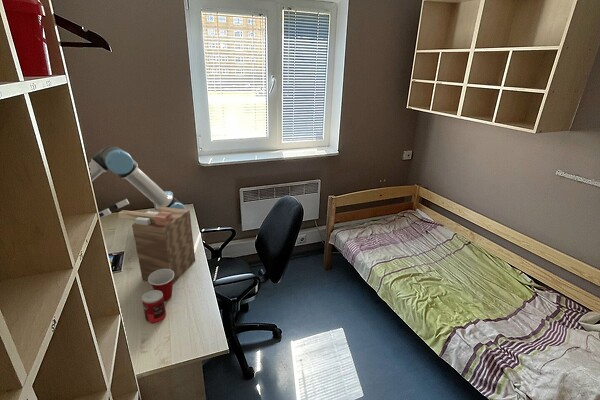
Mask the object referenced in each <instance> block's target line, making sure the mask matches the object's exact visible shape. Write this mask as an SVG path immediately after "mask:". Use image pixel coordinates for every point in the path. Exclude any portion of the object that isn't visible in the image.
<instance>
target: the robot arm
mask: <svg viewBox="0 0 600 400" xmlns="http://www.w3.org/2000/svg"><path fill="white" fill-rule="evenodd" d="M88 164H89V168H90V173H91V178H92V182H93V181H95V180H96V179H97V178H98V177H99V176H100V175H101V174H103V173H106V172H108V171H111V172H112V173H113V174H115V176H118V178H120V179H125V180H127V181H128V183H130V184H131V185H132V186H134V188H135V189H137V190H138V191H139V192H141V193H142V194H143V195H144V196H145V197H146V198H147V199H149V201H151V202H152V203H153V205H154V211H155V210H156V209H158V208H160V207H169V208H178V209H186V207H185V205H184V204H183V203H181V201H179V200H178V199H176V197H174V194H173V192H172V191H170V190H169V191H168V190H166V191H164V190H163V189H162V188H161V187H160V186H159V185H158V184H157V183H156V182H155V181H154V180H152V179H151V178H150V177H149V175H147V174H145V173H144V171H142V170H141V169H140V168H139V166H138V165H139V163H138V162H137V161H136V160H135V159H133V158H132V156H131V155H130V153H128V152H127V151H125V150H123V149H121V148H120V147H119V146H116V145H115V146H114V145H109V146H106V147H103V148H102V149H101V150H99V151H98V152H97V153H96V154H94V155H93V156H92V157H91V158H90V162H89V163H88ZM127 205H130V202H129V200H128V199H127V198H125V199H122V200H121V201H116V202H115V204H112V205H111V206H108V207H106V208H104V209H103V208H102V209H100V210H98V211H99V215H100V218H101V219H103V218H105V217H107V216H109V215H111V214H112V212H113V211H116V210H117V209H121V208H123V207H126V206H127Z"/></svg>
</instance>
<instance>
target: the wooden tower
mask: <svg viewBox="0 0 600 400" xmlns="http://www.w3.org/2000/svg"><path fill="white" fill-rule="evenodd" d="M162 211H163V212H171V213H172V217H173V221H172V222H170V223H169V224H168V225H166V226H162V225H156V224H155V223H151V224H149V225H148V226H147V225H139V224H136V223H135V222H134V223H133V224H131V228H132V231H133V238H134V243H135V249H136V254H137V259H138V263H139V269H140V274H141V280H142V282H143V281H145V282H149V281H148V277H149V275H150V274H151V273H152V272H154V271H156V270H160V269H170V270H172V271H173V272H174V278H173V285H174V284H175V283H176V282H177V281H178V280H179V279H180V278H181V277H182V275H184V273H185V272H187V271H188V269H189V268H190V267H191V266H192V265H193V264H194V263H195V262H196V255H195V245H194V238H193V237H194V236H193V229H192V220H191V211H190V209H186V208H185V209H178V208H169V207H160V208H158V209H156V210H155V209H154V210H153V212H159V213H161V212H162Z"/></svg>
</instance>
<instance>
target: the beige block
mask: <svg viewBox="0 0 600 400" xmlns="http://www.w3.org/2000/svg"><path fill="white" fill-rule="evenodd" d="M137 217H143V218H150V221H151V223H155V224H156V225H162V226H166V225H168V224H169V223H170V222H172V221H173V217H172V213H171V212H163V211H162V212H161V213H159V214H151V213H146V212H141V211H133V210H124V209H122V210H120V211H118V218H119V219H122V220H128V221H135V219H136V218H137Z"/></svg>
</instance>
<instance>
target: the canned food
mask: <svg viewBox="0 0 600 400" xmlns="http://www.w3.org/2000/svg"><path fill="white" fill-rule="evenodd" d="M141 302H142V308H143V312H144V318H145V321H147V322H148V324H158V323H160V322H162V321H163V320H164V319H165V318H166V315H167V312H166V305H165V302H164V298H163V293H162V292H161V291H159V290H154V289H152V290H148V291H147V292H145V293H144V294H143V295H142V296H141Z"/></svg>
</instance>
